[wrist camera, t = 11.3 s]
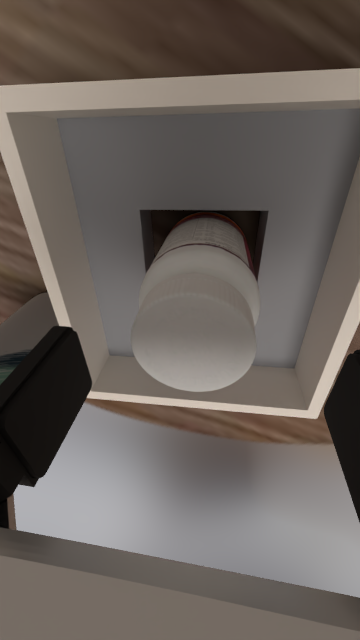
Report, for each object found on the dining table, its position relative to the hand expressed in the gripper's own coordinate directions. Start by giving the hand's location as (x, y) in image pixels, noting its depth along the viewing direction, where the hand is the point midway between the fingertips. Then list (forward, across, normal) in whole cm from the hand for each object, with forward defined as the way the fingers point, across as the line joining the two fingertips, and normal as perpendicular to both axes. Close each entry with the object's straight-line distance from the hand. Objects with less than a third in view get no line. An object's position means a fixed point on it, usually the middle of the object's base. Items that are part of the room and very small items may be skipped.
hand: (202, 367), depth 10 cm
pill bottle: (+13, +1, 0) cm, 13 cm away
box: (+12, +1, +1) cm, 12 cm away
